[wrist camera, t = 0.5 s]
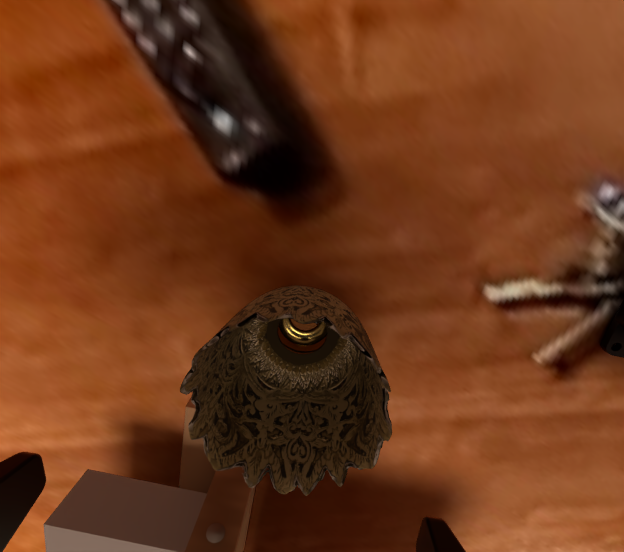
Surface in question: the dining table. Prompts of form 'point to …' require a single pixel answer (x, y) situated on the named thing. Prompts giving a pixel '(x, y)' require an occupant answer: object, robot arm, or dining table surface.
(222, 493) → the post frame
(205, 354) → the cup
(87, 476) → the trapdoor
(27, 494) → the robot arm
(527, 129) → the dining table surface
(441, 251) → the dining table surface
